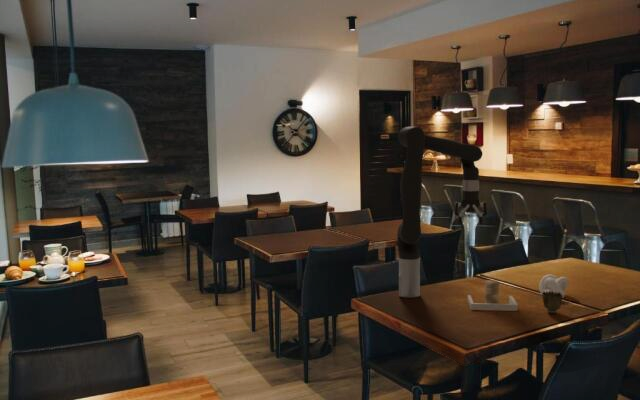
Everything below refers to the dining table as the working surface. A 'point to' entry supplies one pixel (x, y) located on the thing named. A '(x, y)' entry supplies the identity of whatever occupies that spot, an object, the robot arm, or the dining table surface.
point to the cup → (552, 301)
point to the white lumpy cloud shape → (553, 284)
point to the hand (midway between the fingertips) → (470, 224)
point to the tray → (493, 305)
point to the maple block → (491, 291)
